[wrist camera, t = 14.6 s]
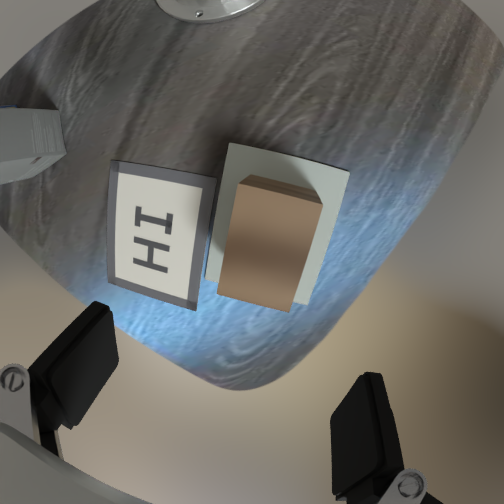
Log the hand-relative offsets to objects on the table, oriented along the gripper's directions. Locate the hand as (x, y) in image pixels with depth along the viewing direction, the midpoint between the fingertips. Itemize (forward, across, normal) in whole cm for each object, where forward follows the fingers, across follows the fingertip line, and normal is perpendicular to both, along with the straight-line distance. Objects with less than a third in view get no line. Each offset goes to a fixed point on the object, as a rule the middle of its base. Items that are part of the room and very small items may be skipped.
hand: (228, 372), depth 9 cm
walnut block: (+18, 0, 0) cm, 18 cm away
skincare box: (+19, +30, -5) cm, 35 cm away
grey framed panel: (+18, +12, +4) cm, 22 cm away
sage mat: (+18, 0, 0) cm, 18 cm away
